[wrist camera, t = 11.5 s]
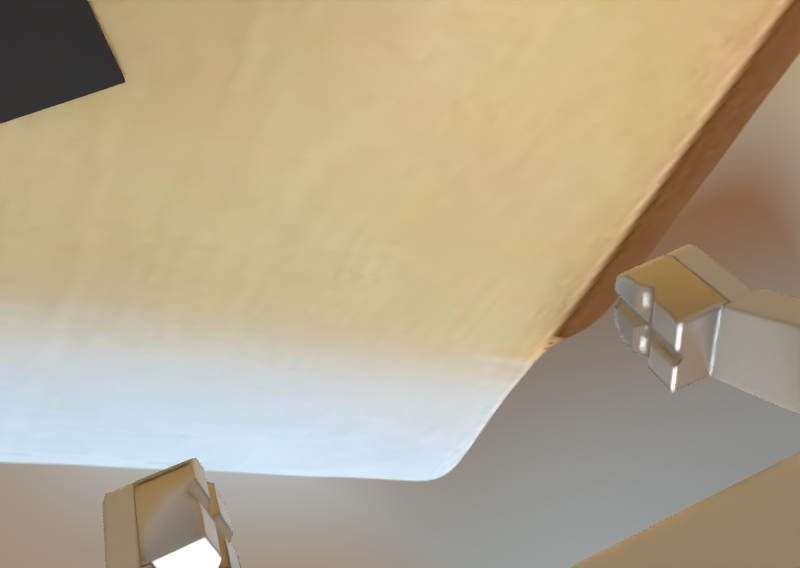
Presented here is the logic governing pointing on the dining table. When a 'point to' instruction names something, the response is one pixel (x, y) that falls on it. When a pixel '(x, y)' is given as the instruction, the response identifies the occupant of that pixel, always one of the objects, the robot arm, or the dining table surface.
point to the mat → (50, 55)
